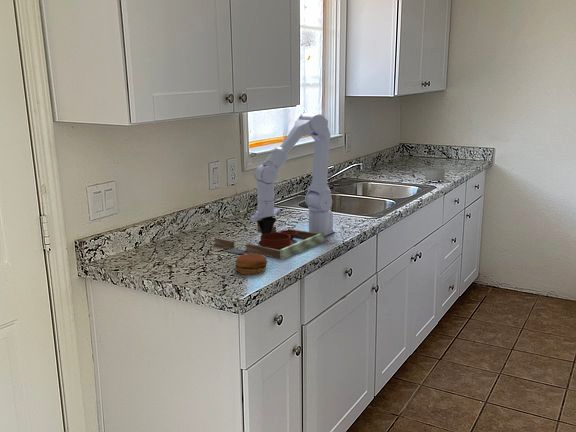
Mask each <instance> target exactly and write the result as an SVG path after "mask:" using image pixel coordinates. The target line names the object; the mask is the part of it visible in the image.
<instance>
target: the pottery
mask: <svg viewBox="0 0 576 432" xmlns="http://www.w3.org/2000/svg"><path fill="white" fill-rule="evenodd" d="M283 230H284V231H281V232H277V231H276V232H273V233H266V234H263V235H262V234H261V235H260V240H259V241H258V243H257V244H258V246H263V247H268V248H273V249H278V250H280V249H283V248H285V247H288V246H290V245H293V244H294V238H297V237H296V235H297V234H298V232H297V231H294V230H288V229H283Z"/></svg>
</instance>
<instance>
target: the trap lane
mask: <svg viewBox="0 0 576 432" xmlns="http://www.w3.org/2000/svg"><path fill="white" fill-rule="evenodd" d="M287 230H294V231H297V232H298V234H297V235H296V237H295V238H299V239H303V240H300V241H297V242H296V243H293V244H292V245H290V246H288V247H285V248H283V249H280V250H278V249H273V248H268V247H263V246H260V245H257V244H251V243H246V244H245V247H246V248H245V251H246V252H245V253H252V254H261V255H263V256H265V257H270V258H271V257H272V258H276V259H281V260H284V259H286V258H288V257H291V256H293V255H296V254H298V253H300V252H303V251H305V250H307V249H309V248H311V247H314V246H316V245H318V244H320V243H323V242H325V236H324V233H313V232H307V231H308V230H307V231H306V230H300V229H296V228H295V229H294V228H287ZM257 231H258V232H261V229H260V227H259V225H258V223H257ZM273 232H277V226H276V225H273V228H272V231H271V233H273ZM214 246H217V247H218V246H219V247H222V248H227V249H231V248H235V240H232V239H226V238H221V237H215V238H214Z"/></svg>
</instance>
